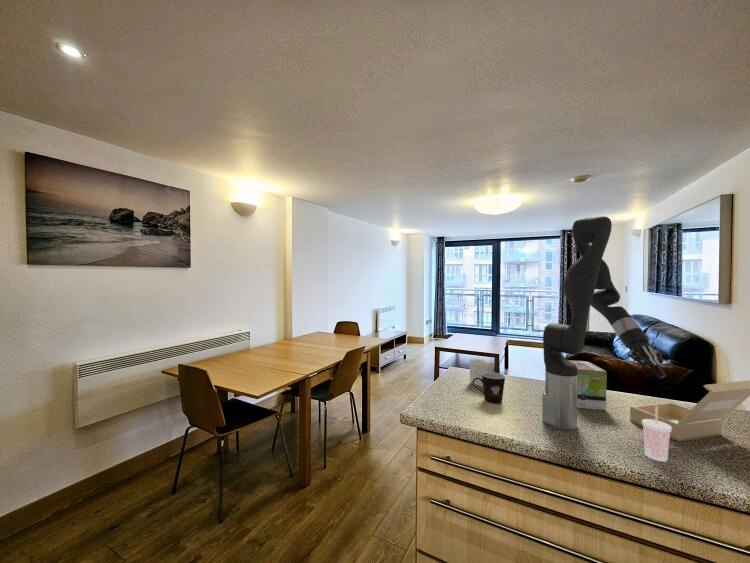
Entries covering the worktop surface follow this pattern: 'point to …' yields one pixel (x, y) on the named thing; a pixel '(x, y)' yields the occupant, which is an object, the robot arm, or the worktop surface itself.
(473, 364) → the photo printer
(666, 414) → the mailer box
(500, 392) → the coffee mug
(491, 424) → the worktop surface
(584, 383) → the tea box
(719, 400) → the lid
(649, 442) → the beverage cup
